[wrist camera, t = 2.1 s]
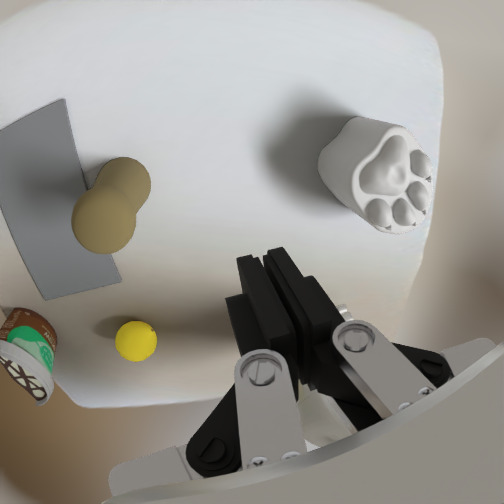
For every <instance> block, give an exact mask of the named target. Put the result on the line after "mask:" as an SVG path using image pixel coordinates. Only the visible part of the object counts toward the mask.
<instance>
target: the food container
mask: <svg viewBox="0 0 504 504" xmlns="http://www.w3.org/2000/svg"><path fill="white" fill-rule="evenodd" d="M56 345H57V336H56V333H55V331H54V329H53V327H52V326H51V325H50V323H49V322H48V321H47V320H46V319H45V318H43V317H42V316H41V315H39V314H38V313H36V312H34V311H32V310H29V309H26V308H14V309H13V311H12V312H11V314H10V315H9V317H8V318H7V320H6V321H5V323H4V324H3V326H2V328H1V329H0V362H1V363H2V365H3V366H4V367H5V369H6V370H7V371H8V373H9V375H10V376H11V377H12V378H13V379H14V380H15V381H16V382H17V383H18V384H19V385H21V386H22V387H23V388H25V389H26V390H27V391H28V392H29V393H30V394H31V395H32V396H33V397H34V398H35V399H36V406H40V405H43V404H45V403H46V402H47V401H48V400H49V398H50V396H51V394H52V392H53V390H54V382H53V379H52V377H51V375H52V368H53V362H54V356H55V351H56Z"/></svg>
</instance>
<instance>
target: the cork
mask: <svg viewBox="0 0 504 504" xmlns="http://www.w3.org/2000/svg"><path fill="white" fill-rule="evenodd" d="M150 189H151V180H150V176H149V173H148V172H147V170H146V168H145V167H144V166H143V165H142V164H141V163H139V162H138V161H137V160H134V159H131V158H129V157H119V158H116V159H113V160H111V161H109V162H108V163H107V164H105V165H104V166H103V168H102V169H101V171H100V172H99V174H98V176H97V178H96V180H95V183H94V185H93V187H92V188H91V189H89V190H88V191H86V192H85V193H84V194H83V195H81V196H80V197H79V199H78V200H77V202H76V204H75V205H74V208H73V212H72V216H71V226H72V231H73V233H74V236H75V238H76V239H77V241H78V242H79V243H80V244H81V245H82V246H83V247H84V248H85V249H87V250H88V251H90V252H93V253H96V254H111V253H114V252H117V251H119V250H120V249H122V248H123V247H124V246H125V245H126V244H127V243H128V242H129V240H130V239H131V238H132V236H133V233H134V230H135V227H136V213H137V212H138V210H139V209H140V208H141V206H142V205H143V204H144V202H145V201H146V200H147V198H148V196H149V193H150Z"/></svg>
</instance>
